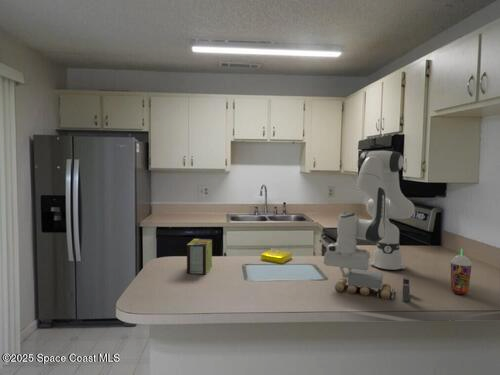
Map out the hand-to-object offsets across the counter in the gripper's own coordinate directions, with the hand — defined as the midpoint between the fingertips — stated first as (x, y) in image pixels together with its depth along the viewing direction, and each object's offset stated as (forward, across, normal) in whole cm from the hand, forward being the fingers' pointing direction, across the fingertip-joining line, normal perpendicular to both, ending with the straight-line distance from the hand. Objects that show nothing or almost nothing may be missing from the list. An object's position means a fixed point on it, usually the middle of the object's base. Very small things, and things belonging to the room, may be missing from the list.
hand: (345, 276), depth 165 cm
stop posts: (+6, -26, 0) cm, 26 cm away
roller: (+6, -18, 0) cm, 19 cm away
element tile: (+6, +46, -34) cm, 58 cm away
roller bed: (+6, -4, 0) cm, 7 cm away
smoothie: (+6, -48, -18) cm, 52 cm away
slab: (+2, -9, 0) cm, 9 cm away
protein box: (+6, +76, +5) cm, 77 cm away
